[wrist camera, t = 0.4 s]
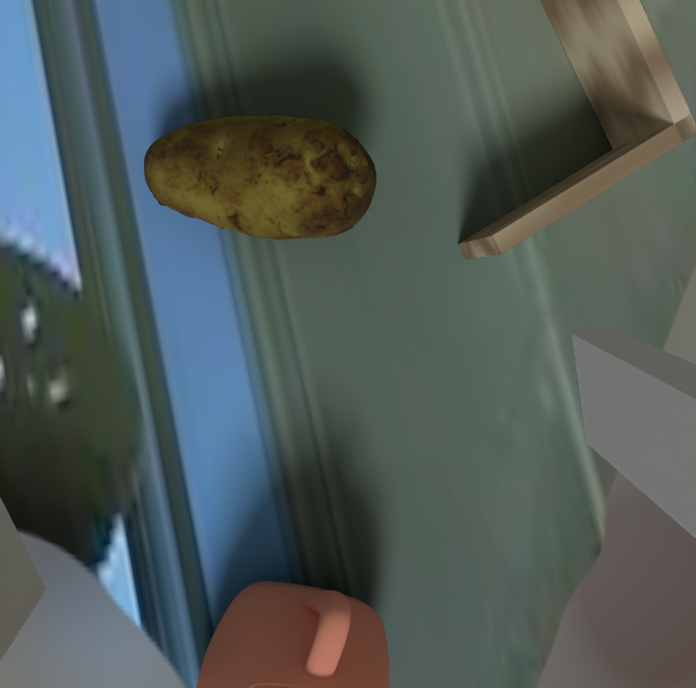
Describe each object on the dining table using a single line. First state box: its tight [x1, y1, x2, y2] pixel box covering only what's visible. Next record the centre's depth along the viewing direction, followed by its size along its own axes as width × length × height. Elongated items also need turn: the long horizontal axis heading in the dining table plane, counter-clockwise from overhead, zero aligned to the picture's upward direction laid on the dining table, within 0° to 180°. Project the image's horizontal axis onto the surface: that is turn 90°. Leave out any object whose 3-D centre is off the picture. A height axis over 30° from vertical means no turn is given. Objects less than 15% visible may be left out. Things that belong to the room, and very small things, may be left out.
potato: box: [144, 116, 376, 240], centre depth 31 cm, size 8×13×8 cm, turn 64°
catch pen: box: [458, 0, 696, 259], centre depth 33 cm, size 22×14×6 cm, turn 31°
